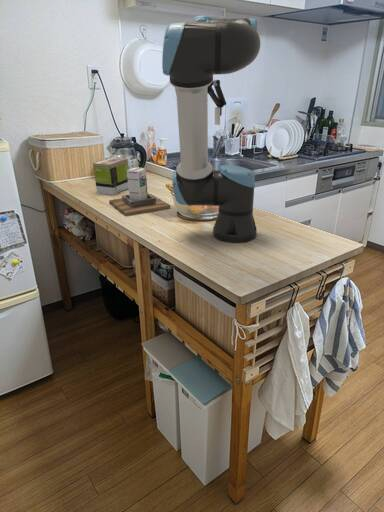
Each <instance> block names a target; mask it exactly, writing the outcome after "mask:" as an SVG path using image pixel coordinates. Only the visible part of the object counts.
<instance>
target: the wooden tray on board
mask: <svg viewBox="0 0 384 512" xmlns="http://www.w3.org/2000/svg"><path fill="white" fill-rule="evenodd" d="M108 202H109V205H111V206H112V207H113V208H114V209H115V210H116V211H118V212H119V213H121V214H122V215H123V216H125V217H130V216H134V215H135V216H136V215H141V214H145V213H146V214H147V213H151V212H152V213H153V212H157V211H165V210H170V209H171V204H169V203H168V202H166V201H164V200H162V199H160V198H159V197H157V196H155V195H153V194H152V193H148V199H143V200H137V201H132V200H130V198H129V194H125V195H121V198H115V199H109V200H108Z"/></svg>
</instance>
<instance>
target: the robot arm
mask: <svg viewBox="0 0 384 512" xmlns="http://www.w3.org/2000/svg"><path fill="white" fill-rule="evenodd" d="M162 45H163V46H162V61H161V64H162V65H161V66H162V67H161V68H162V73H163V75H165V76H166V77H167V76H168V77H169V83H170V85H172V87H173V88H175V93H176V106H177V108H176V110H177V121H178V122H177V124H178V140H179V141H178V142H179V152H180V153H179V156H180V162H179V163H178V164H177V165H176V169H174V171H173V172H172V177H171V178H172V179H171V180H172V181H171V182H172V190H173V195H174V198H175V201H176V203H177V204H179V205H181V206H190V207H192V206H208V207H211V206H213V207H214V206H215V207H218V214H217V216H216V219H215V222H214V226H213V228H212V235H213V237H215V238H216V239H217V240H220V241H222V242H227V243H246V242H249V241H252V240H254V239H256V237H257V225H256V221H255V218H254V214H253V212H254V197H255V187H256V183H255V181H256V179H255V178H256V175H255V173H254V171H253V170H252V169H249V168H247V167H243V166H240V165H239V166H238V165H231V164H227V165H226V164H224V165H221V166H219V169H218V170H214V168H213V165H212V163H211V162H209V151H208V150H209V145H208V144H209V141H208V140H209V135H208V133H209V131H208V129H209V128H208V127H209V126H208V124H209V123H208V121H209V120H208V119H209V117H208V115H209V113H208V111H209V110H208V105H209V104H208V95H209V96H210V98H211V100H212V101H213V103H214V104H215V105H216V106H215V107H214V125H215V126H220V125H221V116H222V114H223V113H222V112H223V111H222V110H223V108H224V106H227V101H226V99H225V96H224V93H223V91H222V90H223V89H222V87H221V80H220V79H214V76H215V75H229V74H233V73H236V72H239V71H242V70H243V69H245V68H247V67H248V66H250V65H251V64H252V63H253V62H254V61H255V60H256V59H257V57H258V55H259V53H260V50H261V38H260V34H259V32H258V19H256V18H251V17H245V18H214V17H213V16H209V15H197V16H194V18H193V21H186V20H185V21H183V22H172V23H170V24H168V25H167V27H166V28H165V31H164V36H163V44H162ZM213 86H214V87H213ZM213 88H214V89H213Z"/></svg>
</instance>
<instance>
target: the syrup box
mask: <svg viewBox="0 0 384 512" xmlns="http://www.w3.org/2000/svg"><path fill="white" fill-rule="evenodd" d="M127 176H128V187H129V188H128V195H129V198H130V200H132V201H137V200H143V199H148V194H149V193H148V183H147V182H148V180H147V170H146V168H144V167H133V168H129V170H127Z"/></svg>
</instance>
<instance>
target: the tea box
mask: <svg viewBox="0 0 384 512" xmlns="http://www.w3.org/2000/svg"><path fill="white" fill-rule="evenodd" d="M92 165H93V173H94V180H95V188H96V192H97V194H101V195H102V194H103V195H107V196H108V195H111V196H114V195H116V194H118V193H121V192H123V191H125V190H129V187H128V176H127V170H130V168H129V159H128V158H122V157H121V158H120V157H109V158H106V159H102V160H100V161H97V162H92Z"/></svg>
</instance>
